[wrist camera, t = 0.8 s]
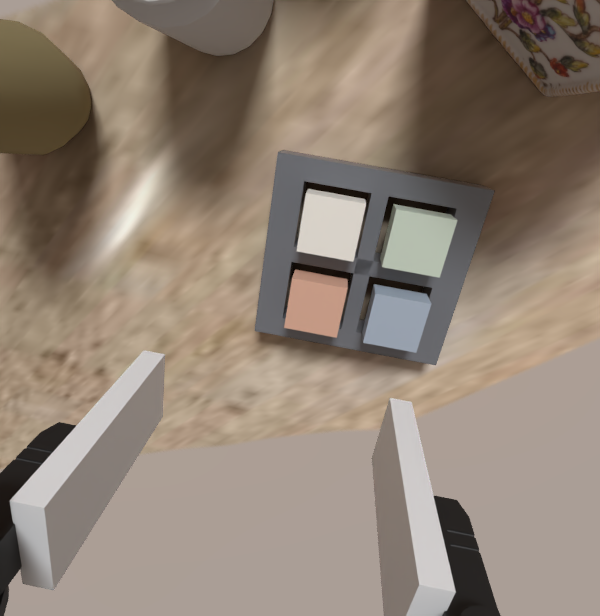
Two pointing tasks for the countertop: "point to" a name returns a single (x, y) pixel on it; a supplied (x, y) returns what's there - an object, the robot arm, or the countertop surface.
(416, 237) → the sage key
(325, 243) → the cream key
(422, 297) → the slate key
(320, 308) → the terracotta key
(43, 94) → the squeeze bottle
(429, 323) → the keypad
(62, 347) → the countertop surface
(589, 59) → the decorative jar
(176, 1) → the can
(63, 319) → the countertop surface
